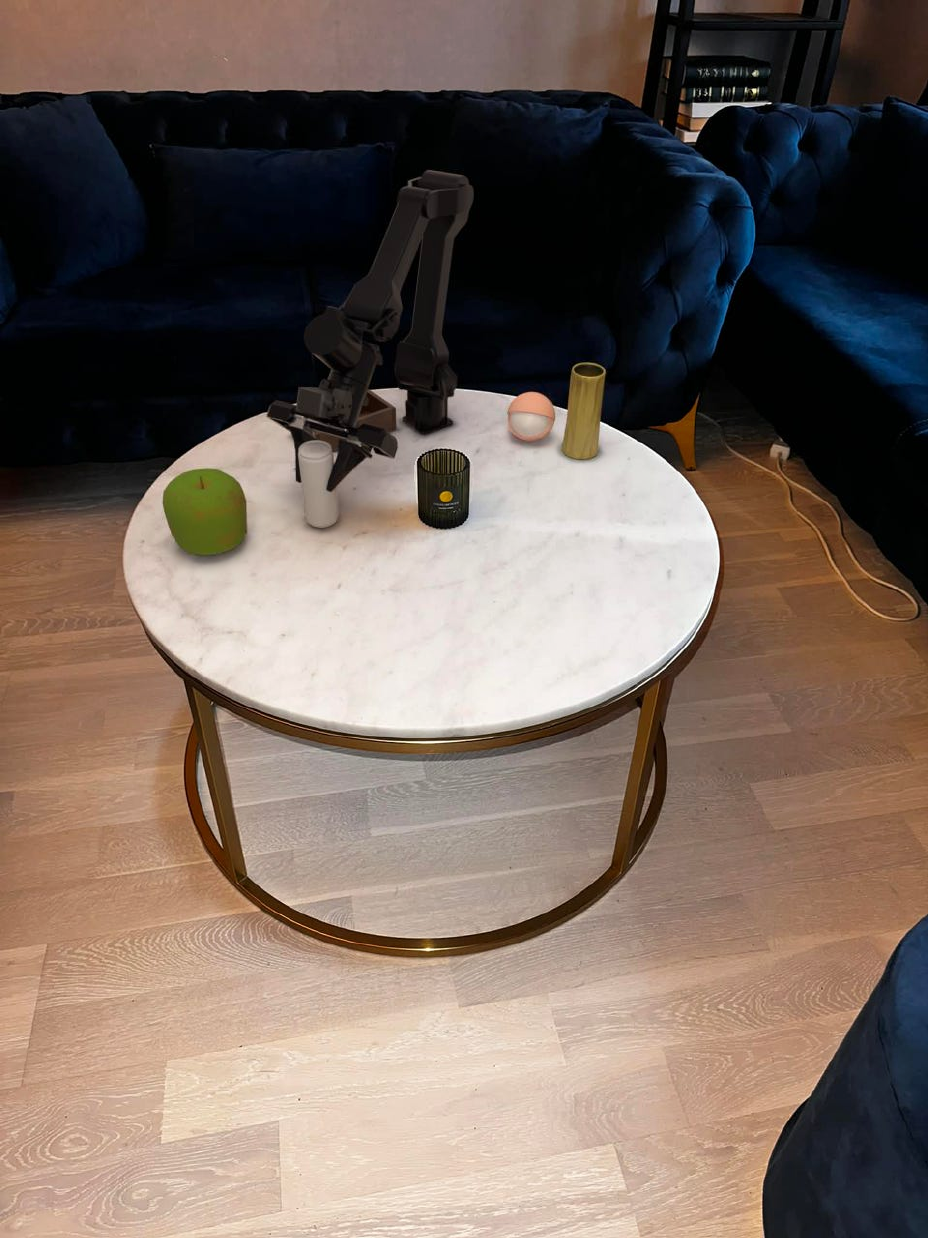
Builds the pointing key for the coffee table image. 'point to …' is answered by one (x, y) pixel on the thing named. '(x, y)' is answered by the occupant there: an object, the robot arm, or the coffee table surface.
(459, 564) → the coffee table surface
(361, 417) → the brown wooden divided box
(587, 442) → the vase
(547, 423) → the toy ball
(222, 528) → the apple
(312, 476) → the beverage can
